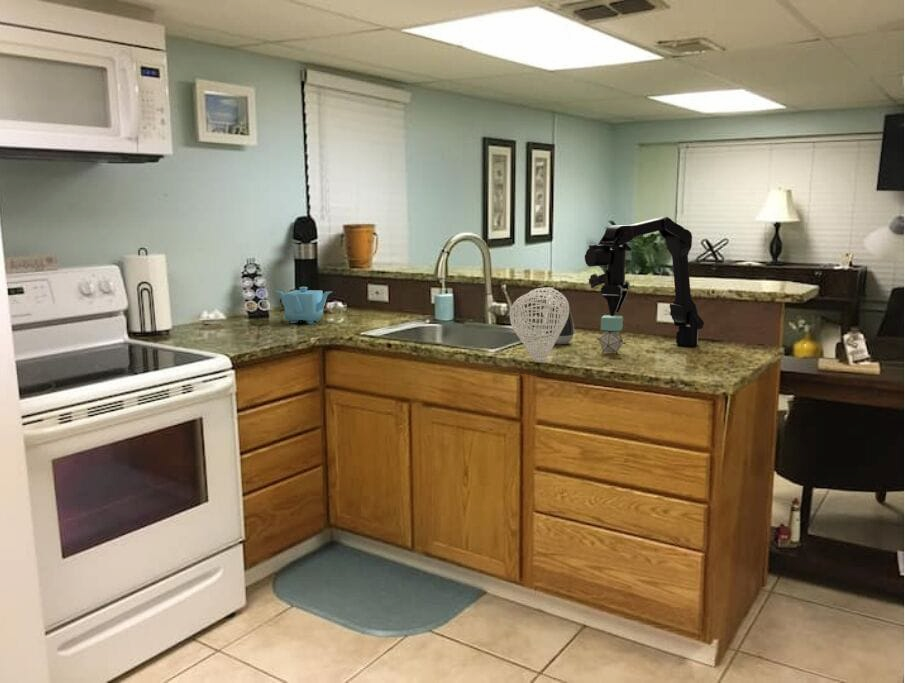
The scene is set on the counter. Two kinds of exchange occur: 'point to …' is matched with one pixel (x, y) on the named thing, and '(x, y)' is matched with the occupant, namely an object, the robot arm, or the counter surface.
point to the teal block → (611, 323)
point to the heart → (521, 324)
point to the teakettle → (303, 304)
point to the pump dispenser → (567, 331)
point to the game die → (611, 341)
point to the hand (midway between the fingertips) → (614, 314)
